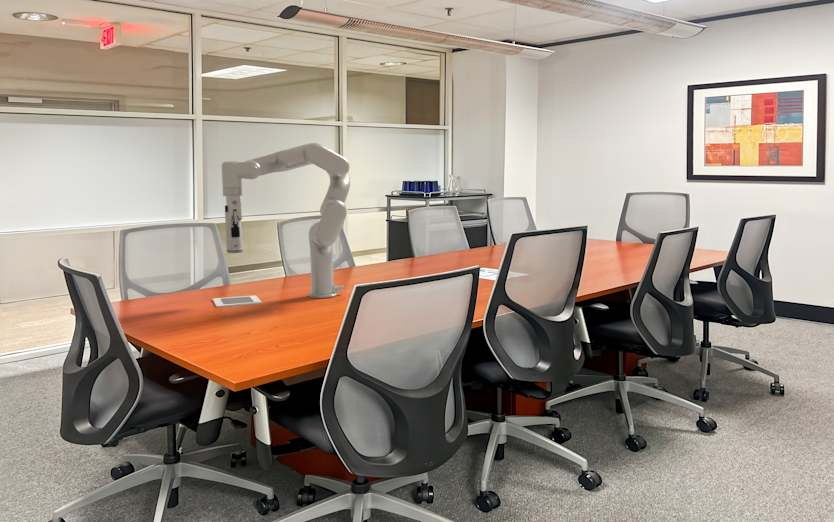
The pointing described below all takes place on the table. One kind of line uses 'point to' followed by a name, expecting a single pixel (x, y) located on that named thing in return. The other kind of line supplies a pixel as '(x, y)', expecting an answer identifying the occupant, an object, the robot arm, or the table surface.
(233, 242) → the travel mug
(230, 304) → the card
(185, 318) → the table surface
